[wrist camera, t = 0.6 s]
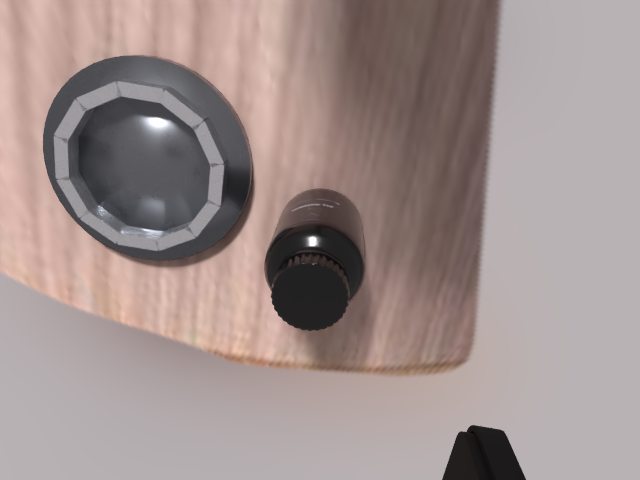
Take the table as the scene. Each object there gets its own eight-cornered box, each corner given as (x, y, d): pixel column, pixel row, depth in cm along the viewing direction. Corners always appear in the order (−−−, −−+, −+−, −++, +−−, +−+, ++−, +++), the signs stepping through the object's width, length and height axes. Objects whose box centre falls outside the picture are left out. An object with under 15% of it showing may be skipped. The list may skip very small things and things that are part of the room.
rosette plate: (46, 37, 36) (23, 38, 33) (263, 75, 36) (257, 78, 34) (56, 237, 42) (37, 251, 40) (242, 268, 42) (235, 283, 40)
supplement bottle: (323, 168, 39) (315, 222, 28) (379, 229, 41) (392, 302, 30) (261, 222, 41) (231, 293, 30) (317, 278, 43) (308, 364, 32)
